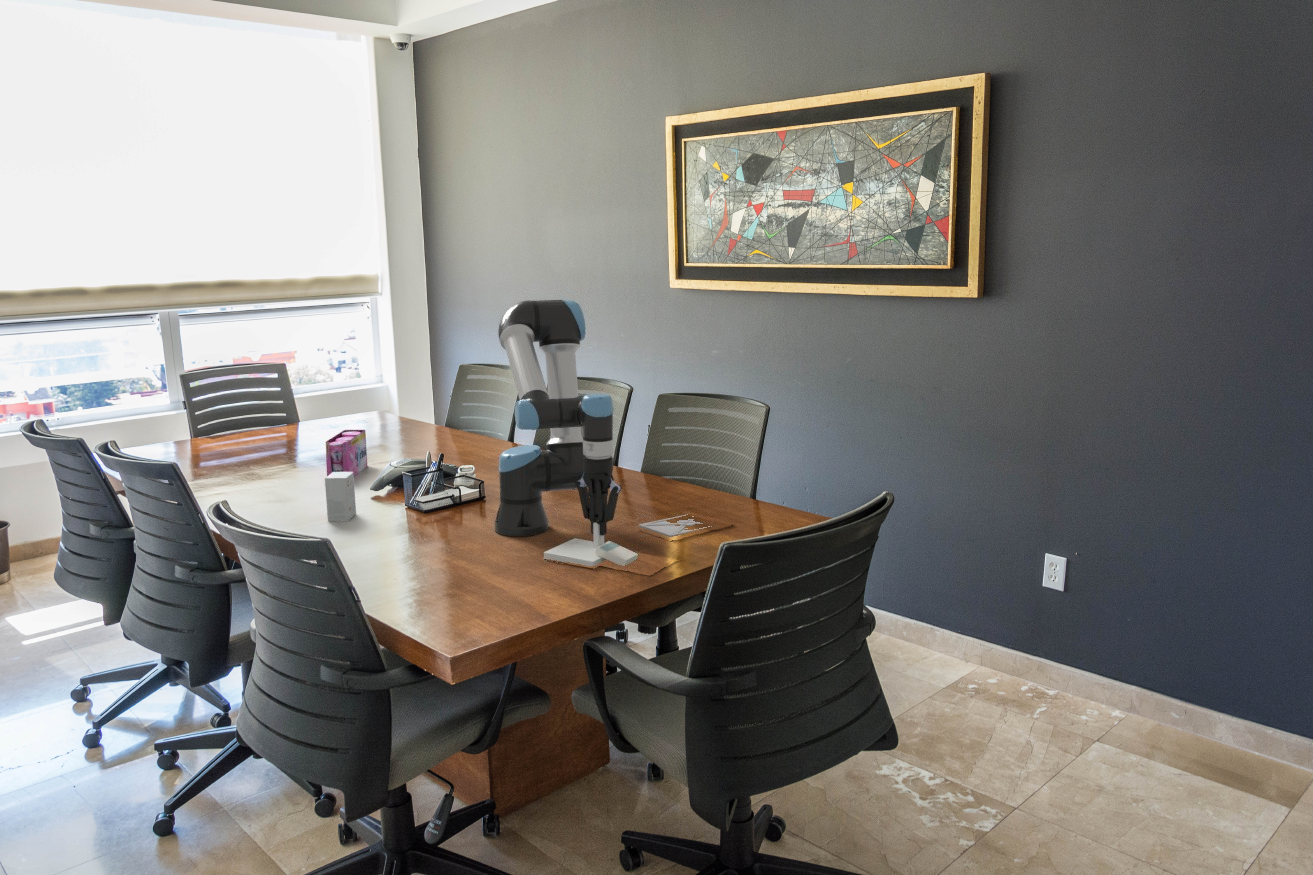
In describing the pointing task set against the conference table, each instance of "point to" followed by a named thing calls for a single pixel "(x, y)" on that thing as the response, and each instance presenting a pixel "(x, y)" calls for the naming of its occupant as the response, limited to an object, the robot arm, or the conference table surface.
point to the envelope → (670, 526)
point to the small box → (340, 496)
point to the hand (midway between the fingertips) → (598, 546)
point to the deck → (575, 553)
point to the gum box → (347, 452)
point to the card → (616, 553)
